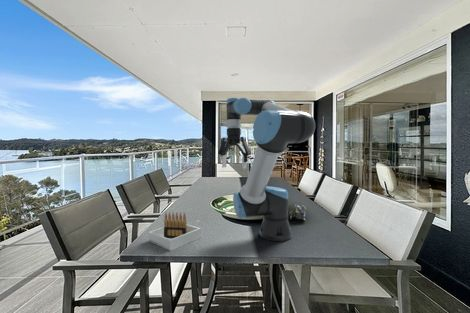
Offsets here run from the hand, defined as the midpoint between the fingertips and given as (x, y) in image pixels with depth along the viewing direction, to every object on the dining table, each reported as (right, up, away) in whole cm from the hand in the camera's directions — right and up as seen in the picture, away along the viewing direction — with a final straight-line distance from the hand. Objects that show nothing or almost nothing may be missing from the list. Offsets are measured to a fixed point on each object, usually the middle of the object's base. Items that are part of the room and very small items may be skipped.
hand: (234, 167), depth 136 cm
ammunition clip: (-27, -32, -18) cm, 45 cm away
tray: (-27, -32, -18) cm, 46 cm away
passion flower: (+36, -30, +10) cm, 48 cm away
